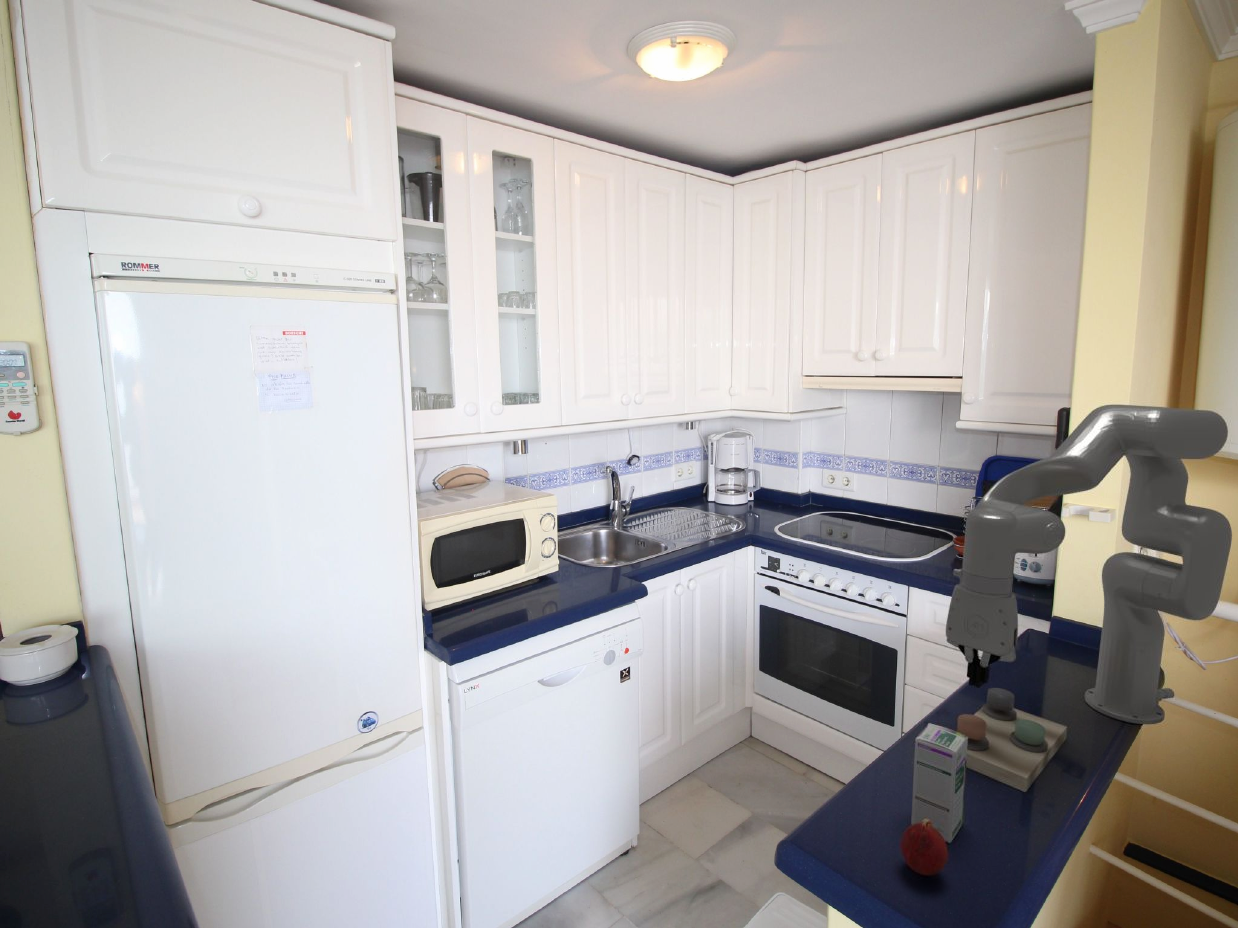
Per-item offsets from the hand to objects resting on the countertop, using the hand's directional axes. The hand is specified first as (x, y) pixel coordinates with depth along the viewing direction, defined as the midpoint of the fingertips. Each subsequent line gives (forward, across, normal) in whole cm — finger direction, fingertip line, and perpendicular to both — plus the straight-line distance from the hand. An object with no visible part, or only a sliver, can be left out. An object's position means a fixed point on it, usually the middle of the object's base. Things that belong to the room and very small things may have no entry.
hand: (977, 683), depth 113 cm
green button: (+10, +7, +7) cm, 14 cm away
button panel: (+13, +3, +7) cm, 16 cm away
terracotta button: (+9, 0, 0) cm, 9 cm away
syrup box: (+14, +3, -22) cm, 26 cm away
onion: (+14, +6, -33) cm, 36 cm away
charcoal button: (+9, 0, +14) cm, 17 cm away
